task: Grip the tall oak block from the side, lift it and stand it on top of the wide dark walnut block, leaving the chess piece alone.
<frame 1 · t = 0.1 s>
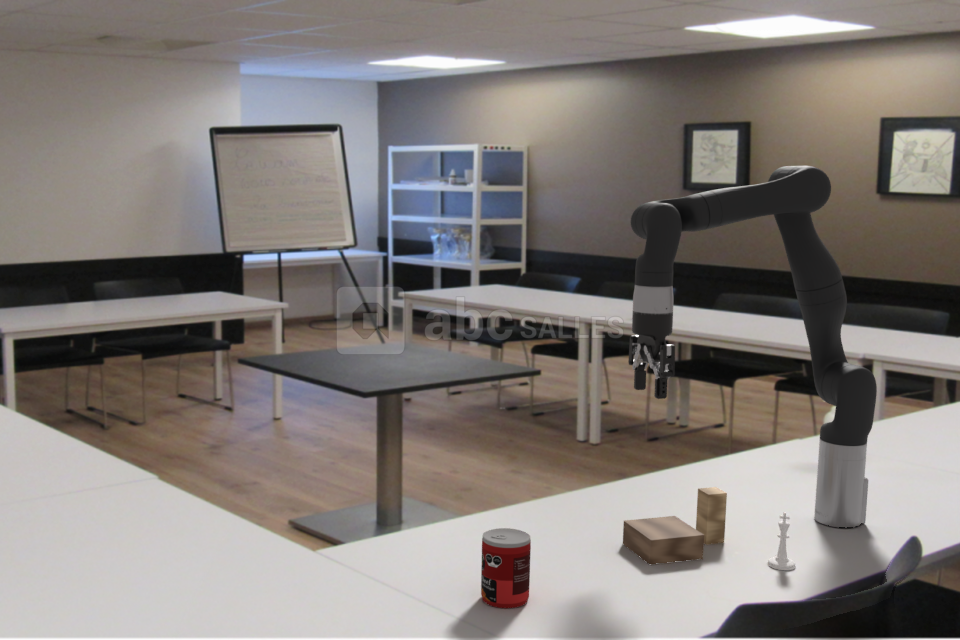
hand: (649, 393, 189), 29 cm above the table, tool pointing down, fingers open, 8 cm apart
oak block: (709, 540, 194), on the table
walnut block: (662, 553, 188), on the table
canned food: (504, 600, 164), on the table
chess piece: (781, 566, 182), on the table
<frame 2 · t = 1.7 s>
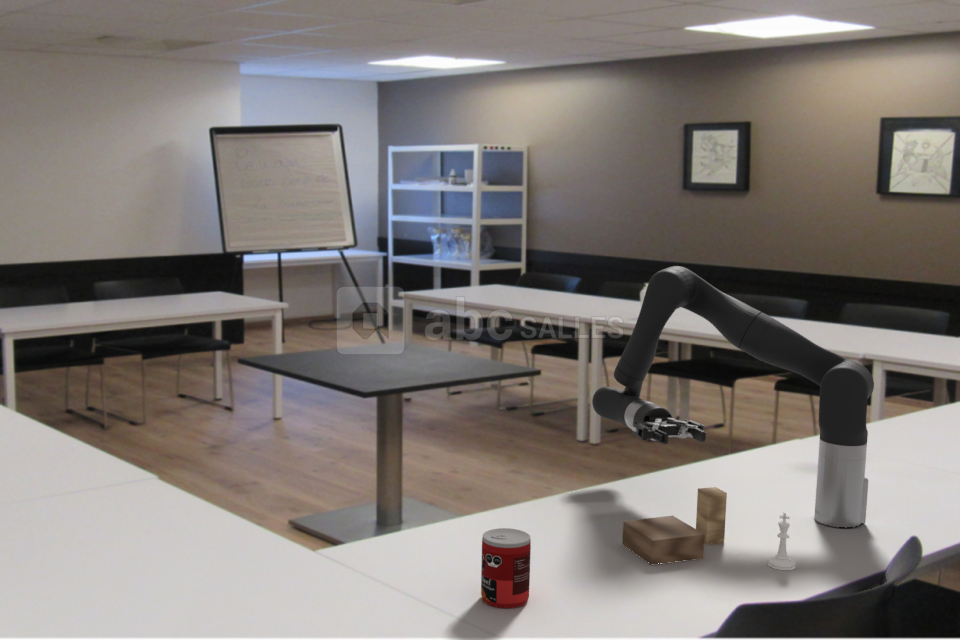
hand: (685, 438, 202), 18 cm above the table, tool horizontal, fingers open, 8 cm apart
nothing on the table moved.
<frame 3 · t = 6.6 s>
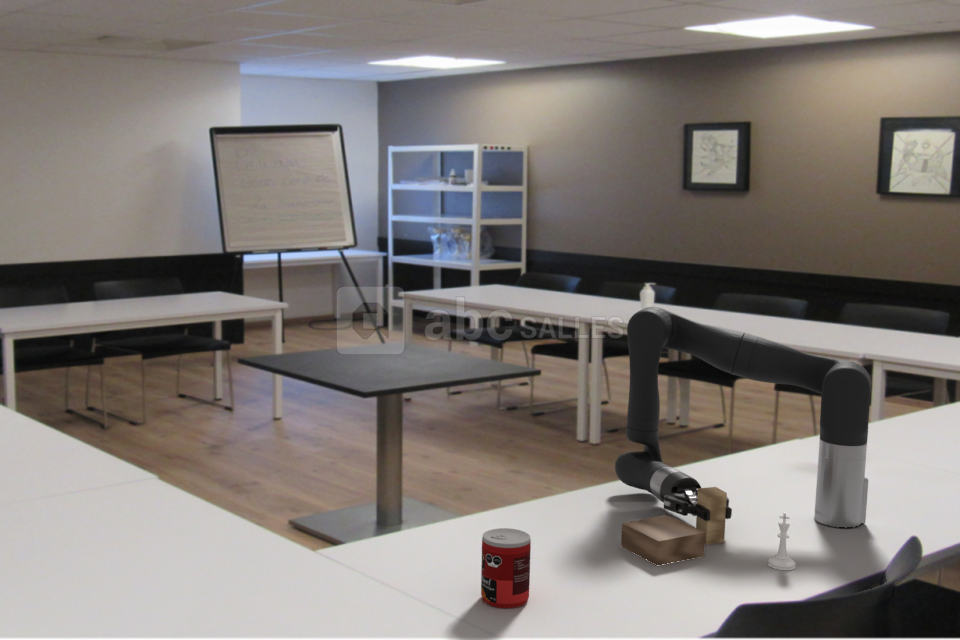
hand: (718, 514, 191), 6 cm above the table, tool horizontal, fingers closed on oak block, 4 cm apart
oak block: (709, 540, 194), on the table, touching gripper
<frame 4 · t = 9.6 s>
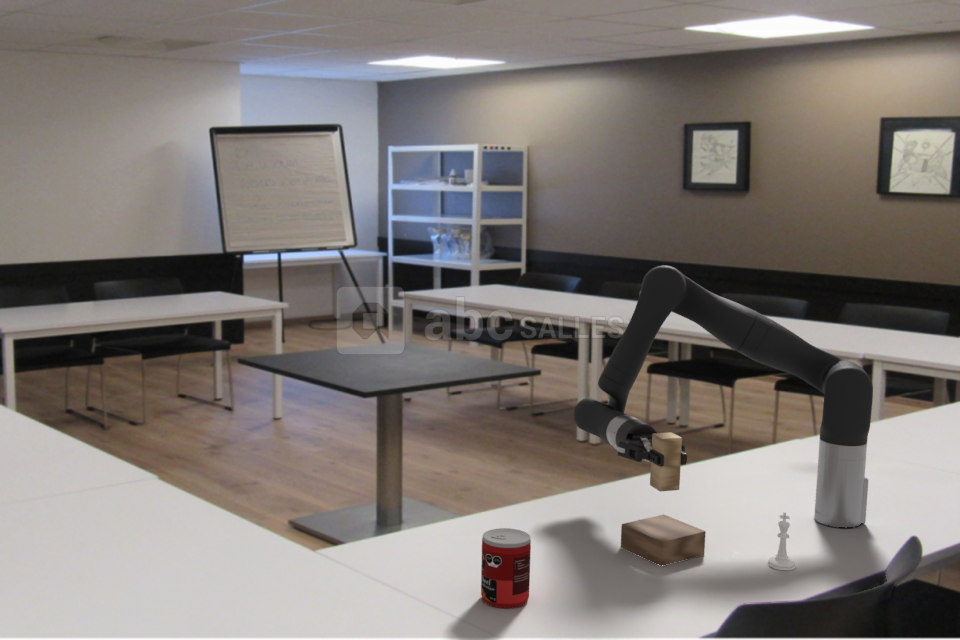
hand: (673, 460, 182), 18 cm above the table, tool horizontal, fingers closed on oak block, 4 cm apart
oak block: (664, 487, 186), point 12 cm above the table, touching gripper
when the fingers open (11 cm above the table, at t = 12.4 s): oak block stays where it is, resting on walnut block.
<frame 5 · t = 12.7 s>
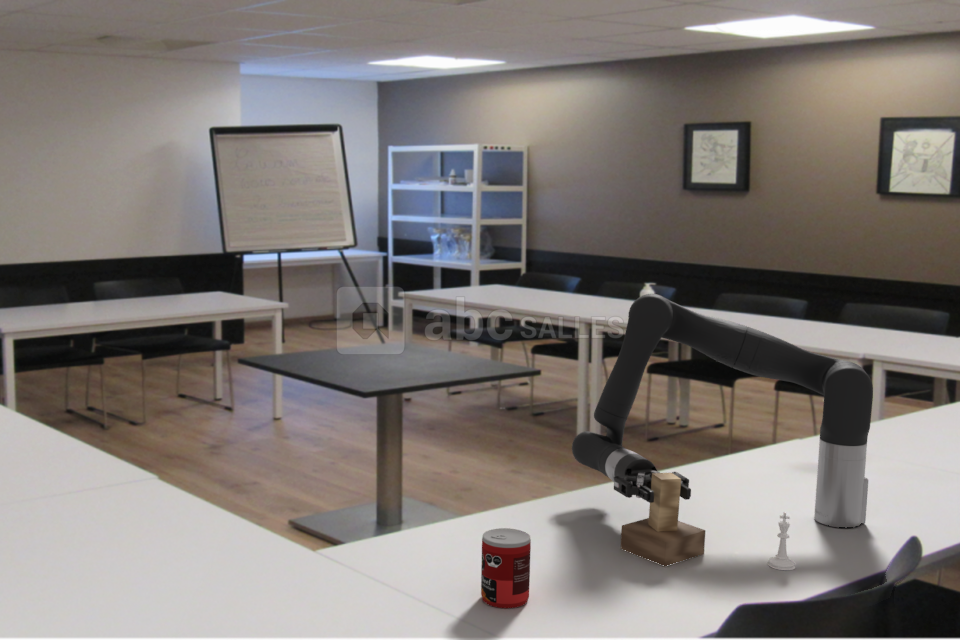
hand: (670, 495, 184), 11 cm above the table, tool horizontal, fingers open, 7 cm apart
oak block: (662, 527, 187), point 5 cm above the table, touching walnut block
walnut block: (662, 553, 188), on the table, touching oak block
everything else where it was.
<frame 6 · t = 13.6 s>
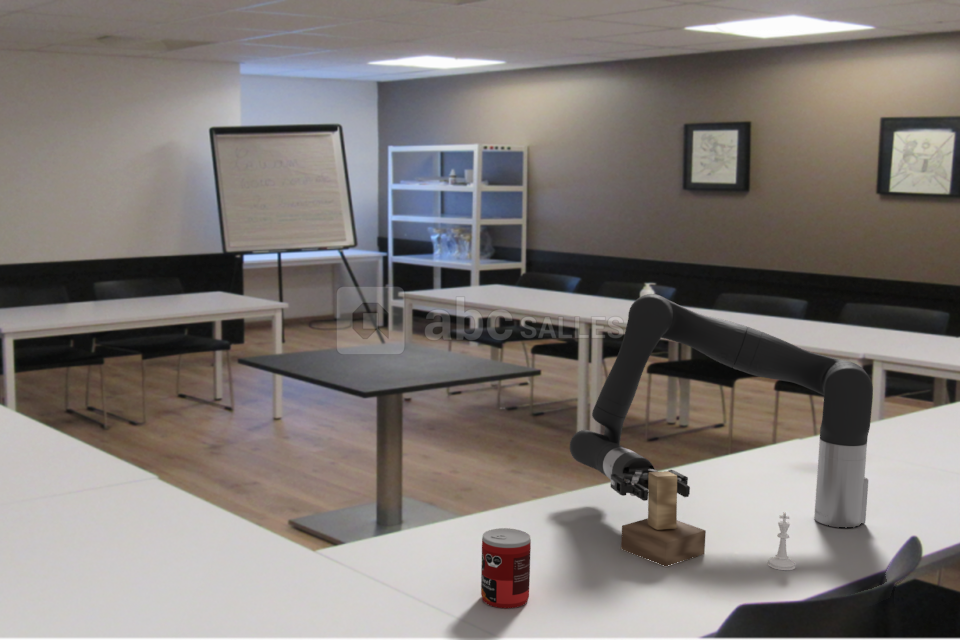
hand: (667, 493, 185), 12 cm above the table, tool horizontal, fingers open, 8 cm apart
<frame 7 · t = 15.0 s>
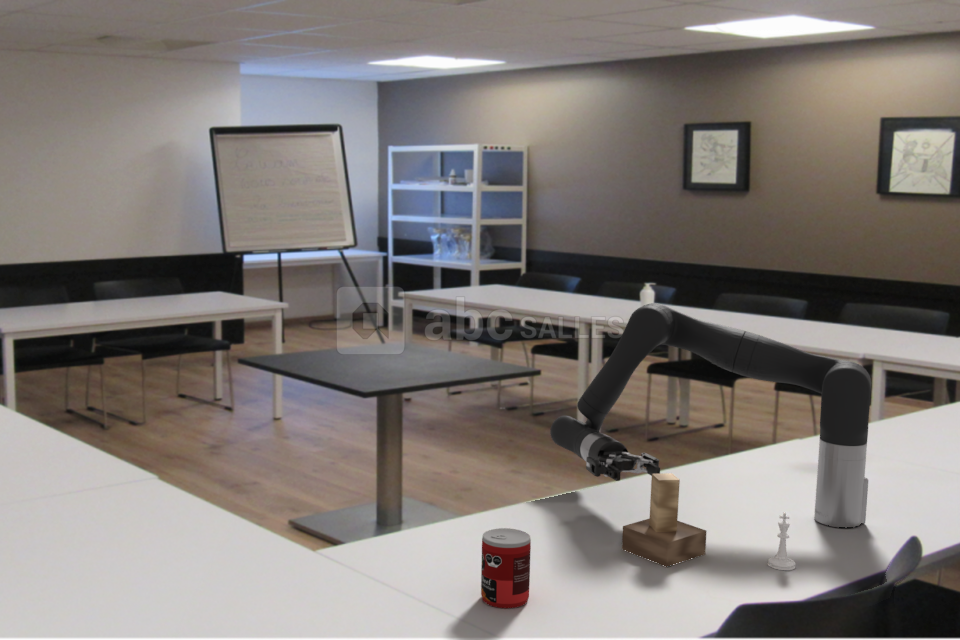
hand: (638, 474, 196), 12 cm above the table, tool horizontal, fingers open, 8 cm apart
oak block: (662, 528, 187), point 5 cm above the table
walnut block: (663, 553, 187), on the table
everything else where it was.
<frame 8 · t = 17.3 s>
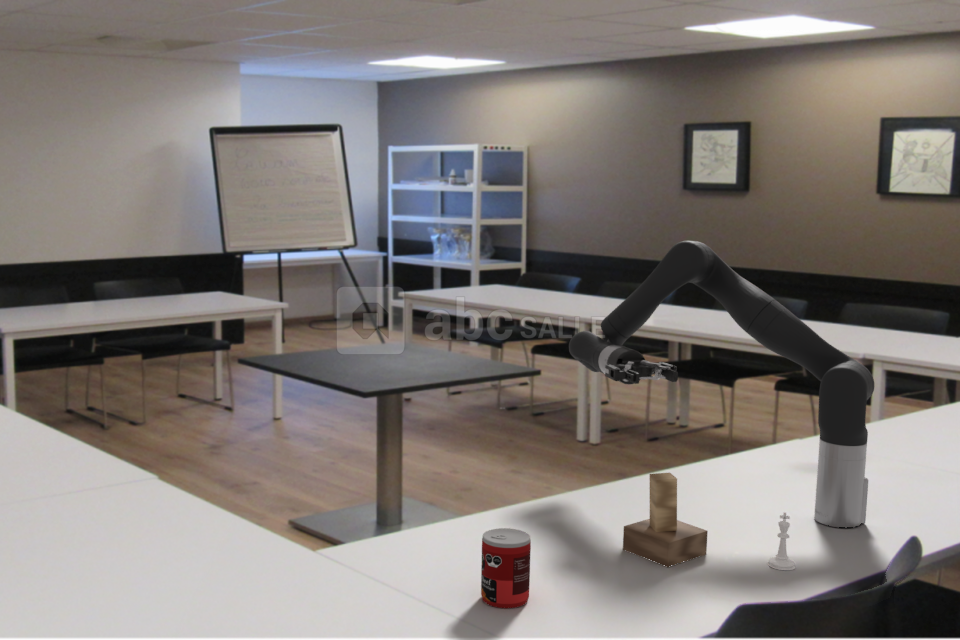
hand: (657, 377, 200), 30 cm above the table, tool horizontal, fingers open, 8 cm apart
oak block: (663, 527, 187), point 5 cm above the table, touching walnut block
walnut block: (664, 553, 187), on the table, touching oak block
everything else where it was.
at the end: oak block inside the target area on the walnut block (0.4 cm from its centre), point 5.1 cm above the walnut block's base; oak block tilted 2°; the gripper is holding nothing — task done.
